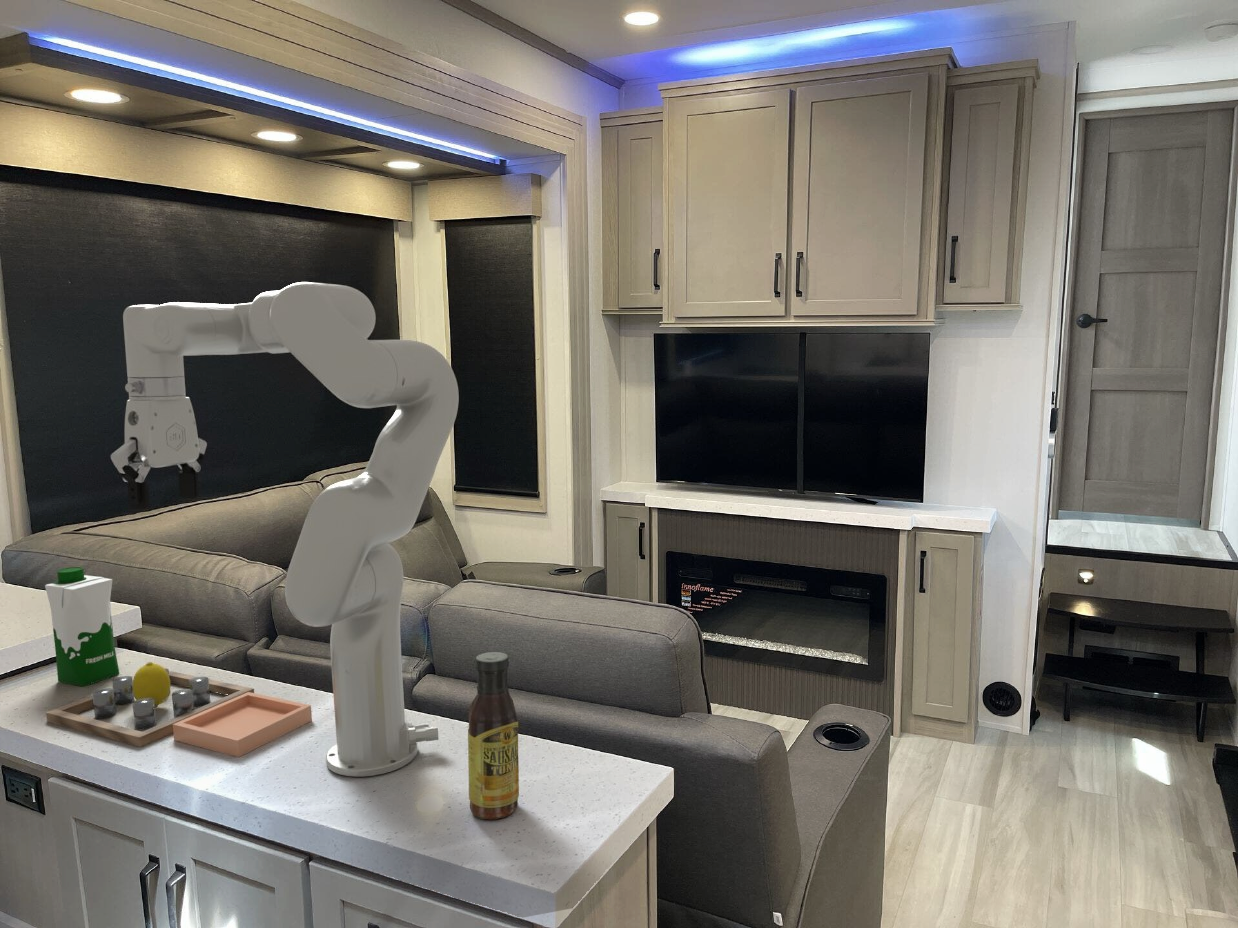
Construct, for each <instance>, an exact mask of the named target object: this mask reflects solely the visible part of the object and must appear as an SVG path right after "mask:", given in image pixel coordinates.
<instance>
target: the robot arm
mask: <svg viewBox="0 0 1238 928" xmlns="http://www.w3.org/2000/svg"><path fill="white" fill-rule="evenodd" d="M122 320H123V333H124V346H125V360H126V361H125V363H126V373H127V383H126V384H125V386H124V389H125V391H126V392H127V393H128V399H127V400H126V406H125V414H124V443H123V445H121V446H120V447H119V448H118V449H116V450H115V451H114V452H112V453H111V454H110V459H111V461H112V463H113V465H114V466H115V469H116V472H117V473H118V475H120V476H121V478H122V480H123V481H124V482H125V483H127V494H128V495H127V496H128V506H129V509H134V510H135V509H136V510H148V509H149V508H150V506H151V505H150V490H149V483H148V481H145V479H146V477H147V475H148V473H149V472H150V470H151V468H155V469H156V468H164V467H172V466H178V468H179V469H180V471H178V472H177V473H178V474H177V476H178V492H179V497H181V498H184V499H185V498H189V499H196V498H199V497H200V492H199V491H200V488H199V478H198V477H199V476H198V475H199V474H198V473H199V472H200V471H201V465H202V464H203V461H204V459H205V452H206V449H207V446H208V443H207V442H206V440H204V439H202V438H200V437H198V428H197V423H196V422H197V421H196V418H195V413H194V408H193V405H192V402H191V399H190V397H189V396H186V384H185V383H186V382H185V367H184V356H186V357H188V356H190V357H191V356H206V355H207V356H213V355H214V356H217V355H219V356H224V355H225V356H228V355H229V356H231V355H241V354H243V355H244V354H259V353H269V354H285V353H291V355H293V357H295V359H296V360H298V361H299V362H300V363H301V364H302V366H304V367H305V368H306V369H307V370H308V371H309V372H310V373H311V374H312V375H313V376H314V377H315V378H316V379H317V380H318V381H319V382H320V383H321V384H323V386H324V387H326V388H327V390H329V391H330V392H331V394H333V395H334V396H336V398H338V399H339V400H341V401H342V402H343V403H345V404H348V405H349V406H352V407H355V408H358V409H359V408H360V409H373V408H374V409H375V408H381V407H389V406H390V407H391V406H396V409H395V412H393V415H392V416H391V418H390V419H389V420H388V422H386V425H385V426H384V427H383V428H382V430H381V432H380V433H379V435H378V437H377V439H376V441H375V445H374V448H373V452H372V454H371V456H370V458H369V461H368V462H367V465H366V467H365V468H364V470H363V472H362V473H361V474H360V475H357V476H356V477H352V478H349V479H346V480H342V481H341V480H340V481H338V482H336V483H334V484H331V485H329V486H328V487H326V488H325V489H324V490H322V491H321V492H320V493H319V495H318V496H317V497H316V498H315V499H314V500H313V503H312V504H311V505H310V508H309V510H308V512H307V515H306V517H305V520H304V523H303V526H302V529H301V532H300V534H299V537H298V540H297V543H296V546H295V549H294V552H293V554H292V557H291V560H290V563H289V565H288V569H287V573H286V576H285V582H284V595H285V600H286V601H285V602H286V604H287V608H288V609H289V610H290V613H291V614H292V616H293V617H294V618H295V619H296V620H297V621H299V622H300V623H302V624H303V625H307V626H309V627H315V628H316V627H318V628H321V627H328V626H331V630H330V638H329V639H330V641H329V643H330V644H329V645H330V647H329V648H330V666H331V678H332V693H333V694H332V695H333V706H334V723H335V735H336V737H335V738H336V743H335V744H334V745H333V746H331V747H330V749H329V750H328V751H327V753H326V756H325V761H326V767H327V768H328V769H329V770H330V771H331V772H333V773H335V774H338V775H341V776H344V777H345V776H346V777H355V778H356V777H360V778H361V777H374V776H378V775H383V774H388V773H390V772H393V771H396V770H398V769H400V768H403V767H406V765H407V764H409V763H411V762H412V761H413V760H414V759H415V758H416V756H417V754H418V750H419V749H418V747H419V746H418V743H420V742H433V741H439V727H438V725H437V726H429V725H430V724H429V722H423V723H418V724H413V723H412V722H411V723H409V722H408V716H407V714H405V700H404V698H405V697H404V682H403V681H404V680H403V667H402V666H403V665H402V664H403V663H402V642H401V640H402V638H401V605H402V598H403V597H402V596H403V589H404V578H405V577H404V567H403V563H402V562H403V561H402V559H401V557H400V555H399V553H398V551H397V550H396V548H394V547H393V546H392V545H391V544H390V543H392V542H394V541H397V540H399V539H401V538H403V537H405V536H406V535H407V534H408V533H409V532H410V531H411V530H412V529H413V527H414V525H415V523H416V522H417V519H418V517H419V514H420V511H421V510H422V509H421V508H422V505H423V504H424V500H425V498H426V496H427V493H428V491H429V488H430V485H431V482H432V479H433V478H434V475H435V472H436V468H437V467H438V466H437V465H438V463H439V460H440V458H441V455H442V454H443V451H444V449H445V446H446V444H447V441H448V440H449V437H450V434H451V432H452V429H453V427H454V425H455V421H456V418H457V414H458V410H459V409H458V408H459V401H460V400H459V398H460V397H459V386H458V381H457V378H456V375H455V373H454V370H453V368H452V366H451V365H450V363H449V361H448V360H447V359H446V358H445V356H444V355H443V354H442V353H441V352H439V350H438V349H436V348H435V347H433V346H431V345H429V344H426V343H424V342H421V341H417V340H411V339H368V338H369V337H370V336H371V334H372V333H373V331H374V329H375V325H376V310H375V308H374V306H373V304H372V302H371V300H370V299H369V298H368V296H367V295H365V294H364V293H363V292H361V291H360V290H359V289H356V288H354V287H351V286H348V285H342V284H333V283H323V282H309V281H301V282H295V283H292V284H290V285H289V284H288V285H287V286H285V287H283V288H282V289H280V290H270V291H265V292H261V293H260V294H258V295H257V296H256V297H255V298H254V299H253V301H252V302H247V303H238V304H237V303H234V304H230V303H229V304H225V303H224V304H221V303H220V304H219V303H206V302H205V303H202V302H201V303H200V302H179V301H177V302H175V301H174V302H167V303H163V304H160V305H159V304H137V305H136V304H135V305H134V304H133V305H130V306H127V307H126V308H125V309H124V311H123V314H122Z"/></svg>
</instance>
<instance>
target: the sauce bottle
mask: <svg viewBox="0 0 1238 928" xmlns="http://www.w3.org/2000/svg"><path fill="white" fill-rule="evenodd" d="M509 663H510V662H509V656H508V654H507V653H504V652H499V651H494V652H493V651H490V652H484V653H480V654H478V655H477V656H476V657H475V665H474V666H475V669H476V671H477V686H476V691H477V694H476V696H475V697H474V698H473V700H472V701H471V704H470V707H469V710H468V729H467V744H468V745H467V752H468V754H467V755H468V758H467V759H468V799H469V809H470V812H471V813H472V815H473V816H475V817H477V818H479V819H483V820H496V819H497V820H498V819H503V818H506V817H508V816H510V815H511V814H512V813H514V812H515V811H516V810H517V808H518V807H519V806H518V805H519V802H518V801H519V800H518V799H519V796H520V784H519V783H520V782H519V781H520V780H519V777H520V775H519V771H520V765H519V721H518V720H519V719H518V715H517V712H516V708H515V703H514V700H513V698H512V696H511V694H510V691H509V683H508V669H509V665H510V664H509Z"/></svg>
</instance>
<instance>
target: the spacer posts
mask: <svg viewBox="0 0 1238 928" xmlns="http://www.w3.org/2000/svg"><path fill="white" fill-rule="evenodd" d="M164 668H165V670H166V671H167V673H168V675H169V671H170V670H169V669H168V668H166V667H164ZM133 679H134V678H133V676H132V675H123V676H118V677H115V678H113V679H112V680H111V685H112V688H113V689H112V688H108V687H107V688H100V689H98V690H94V691H93V692H92V696H93V704H94V708H93V712H94V719H95V720H106V719H109V718H113V717H114V716H115V715H117V710H116V709H117V708H116V706H126V705H129V704H132V710H133V713H132V714H133V721H134V728H135V729H134V730H137V731H140V730H143V731H144V730H148V729H150V728H152V727H155V726H157V718H156V716H157V715H156V709H155V704H154V699H153V698H142V699H138V700H136V699H135V697H134V694H133V687H132V686H133ZM208 679H209V677H208V676H196V678H193V679H190V680H189V687H188V688H184V689H179V690H176V691H173V692H172V691H171V690H172V689H170V692H169V695H170V694H171V701H172V710H173V711H172V713H173V719H174V718H176V717H179V716H181V715H183V714H186V713H188V712H190V711H193V710H195V707H202V705H203V706H205V705H207V703H208V704H209V702H210V703H211V694H210V693H211V692H209V680H208ZM171 692H172V693H171Z"/></svg>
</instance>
